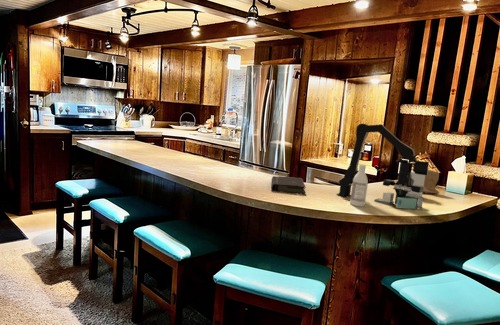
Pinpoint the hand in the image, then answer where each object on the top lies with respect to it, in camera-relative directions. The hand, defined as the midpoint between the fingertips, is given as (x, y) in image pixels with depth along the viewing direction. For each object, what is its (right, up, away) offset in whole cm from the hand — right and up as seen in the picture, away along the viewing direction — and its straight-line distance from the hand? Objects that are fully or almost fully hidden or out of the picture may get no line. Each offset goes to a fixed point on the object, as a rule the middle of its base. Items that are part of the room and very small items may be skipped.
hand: (400, 202), depth 193 cm
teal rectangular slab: (+1, -2, -5) cm, 5 cm away
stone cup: (+36, +1, +51) cm, 62 cm away
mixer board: (-6, -1, +6) cm, 9 cm away
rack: (+6, -2, +4) cm, 7 cm away
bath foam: (-24, -1, -7) cm, 25 cm away
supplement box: (+20, 0, +32) cm, 38 cm away
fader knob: (-5, 0, +5) cm, 7 cm away
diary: (-55, +5, +19) cm, 59 cm away
